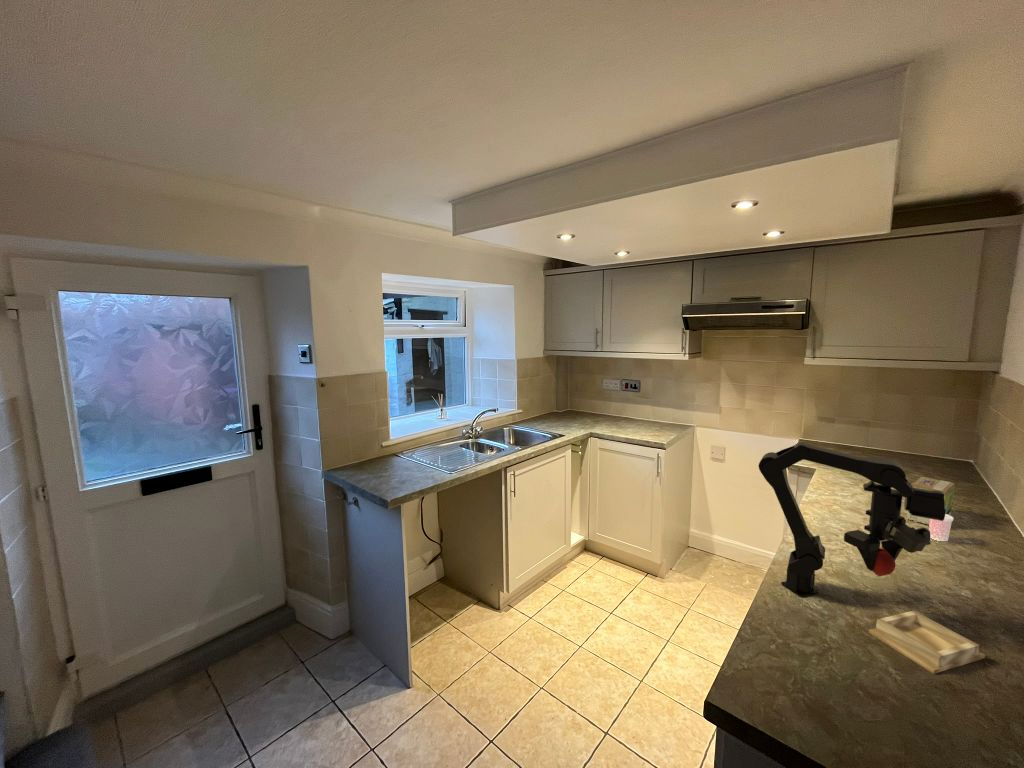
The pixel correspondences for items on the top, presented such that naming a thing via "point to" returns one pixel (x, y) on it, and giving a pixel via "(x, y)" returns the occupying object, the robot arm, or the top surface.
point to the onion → (884, 563)
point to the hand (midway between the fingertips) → (879, 568)
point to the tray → (926, 641)
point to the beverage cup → (940, 528)
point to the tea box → (935, 486)
